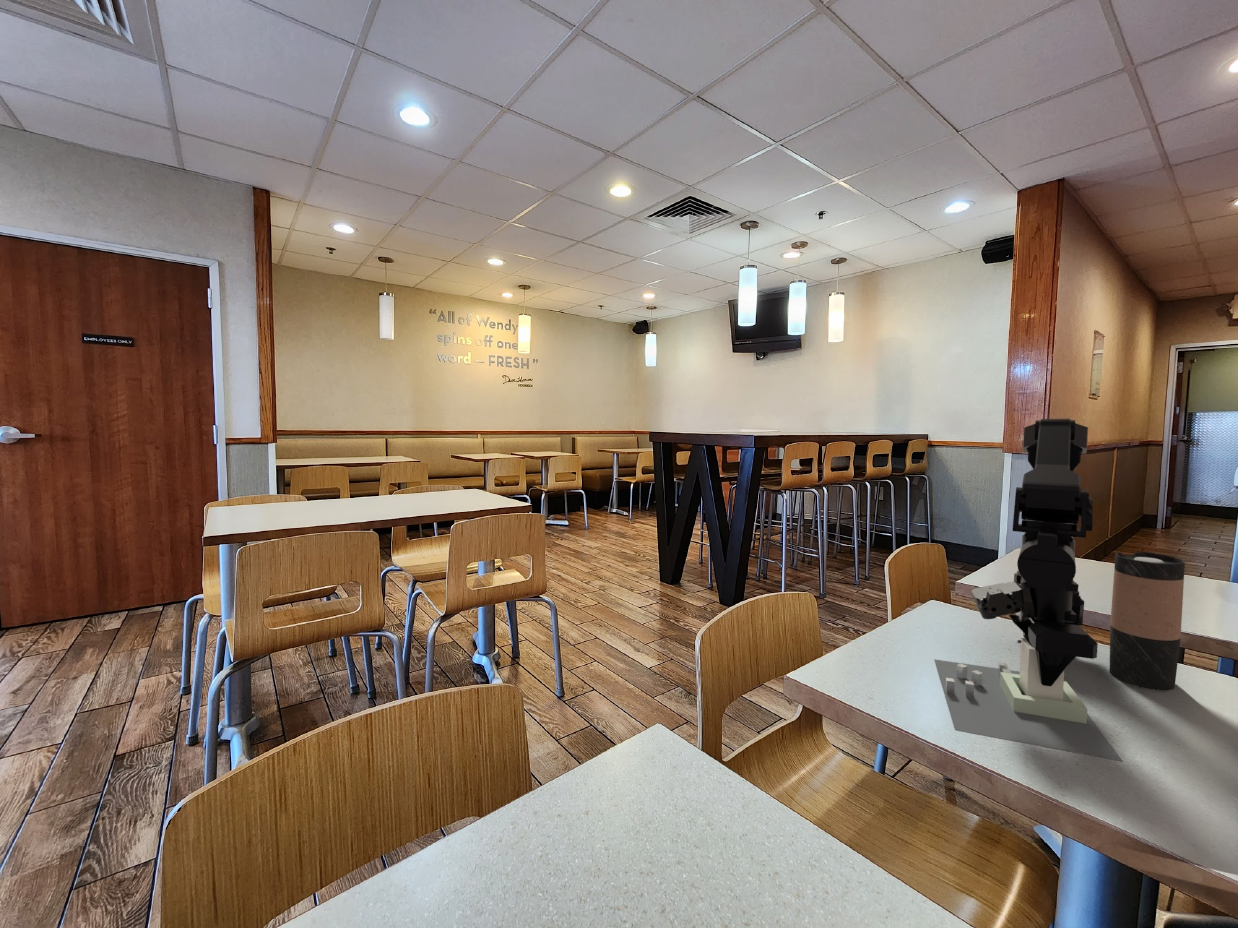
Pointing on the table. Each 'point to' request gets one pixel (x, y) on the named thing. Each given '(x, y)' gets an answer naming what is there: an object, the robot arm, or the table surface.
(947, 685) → the set of small cubes
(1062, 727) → the mat
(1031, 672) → the beige rectangular block
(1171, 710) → the table surface
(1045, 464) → the robot arm
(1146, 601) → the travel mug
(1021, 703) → the end holder
